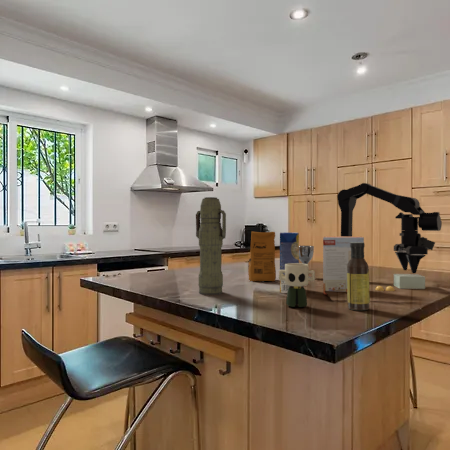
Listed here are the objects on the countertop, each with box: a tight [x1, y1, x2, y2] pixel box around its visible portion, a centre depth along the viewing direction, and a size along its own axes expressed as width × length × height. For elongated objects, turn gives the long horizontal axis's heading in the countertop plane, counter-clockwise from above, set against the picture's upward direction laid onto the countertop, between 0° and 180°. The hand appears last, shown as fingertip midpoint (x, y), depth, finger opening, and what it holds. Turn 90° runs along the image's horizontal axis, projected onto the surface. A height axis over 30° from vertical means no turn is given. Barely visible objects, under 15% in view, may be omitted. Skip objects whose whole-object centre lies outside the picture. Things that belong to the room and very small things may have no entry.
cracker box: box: [322, 235, 365, 296], centre depth 137 cm, size 14×6×21 cm, turn 74°
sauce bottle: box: [346, 242, 371, 312], centre depth 113 cm, size 6×6×20 cm
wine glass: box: [299, 245, 315, 278], centre depth 179 cm, size 8×8×15 cm
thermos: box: [195, 196, 227, 296], centre depth 140 cm, size 9×12×35 cm
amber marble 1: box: [374, 285, 385, 292], centre depth 137 cm, size 3×3×3 cm
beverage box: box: [279, 232, 300, 294], centre depth 144 cm, size 7×11×22 cm, turn 170°
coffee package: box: [247, 231, 277, 282], centre depth 171 cm, size 10×12×22 cm
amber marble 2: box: [385, 285, 396, 292], centre depth 137 cm, size 3×3×3 cm
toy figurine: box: [278, 262, 316, 308], centre depth 116 cm, size 11×7×13 cm, turn 80°
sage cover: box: [393, 273, 426, 290], centre depth 144 cm, size 9×7×6 cm
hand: (409, 271), depth 144 cm, fingers open, 9 cm apart
